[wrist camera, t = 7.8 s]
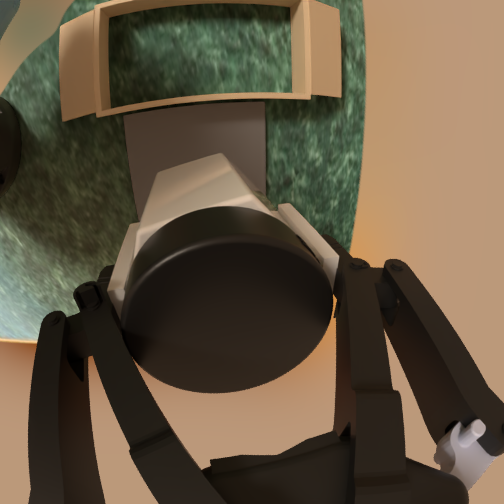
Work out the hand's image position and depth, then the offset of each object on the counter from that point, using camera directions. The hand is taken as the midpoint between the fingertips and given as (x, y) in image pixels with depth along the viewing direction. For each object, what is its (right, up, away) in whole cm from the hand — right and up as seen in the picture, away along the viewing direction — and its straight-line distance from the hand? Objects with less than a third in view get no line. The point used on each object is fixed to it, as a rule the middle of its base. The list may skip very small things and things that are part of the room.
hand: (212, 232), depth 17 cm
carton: (-3, +21, +7) cm, 23 cm away
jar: (-1, +2, +3) cm, 4 cm away
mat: (-4, +8, +15) cm, 17 cm away
